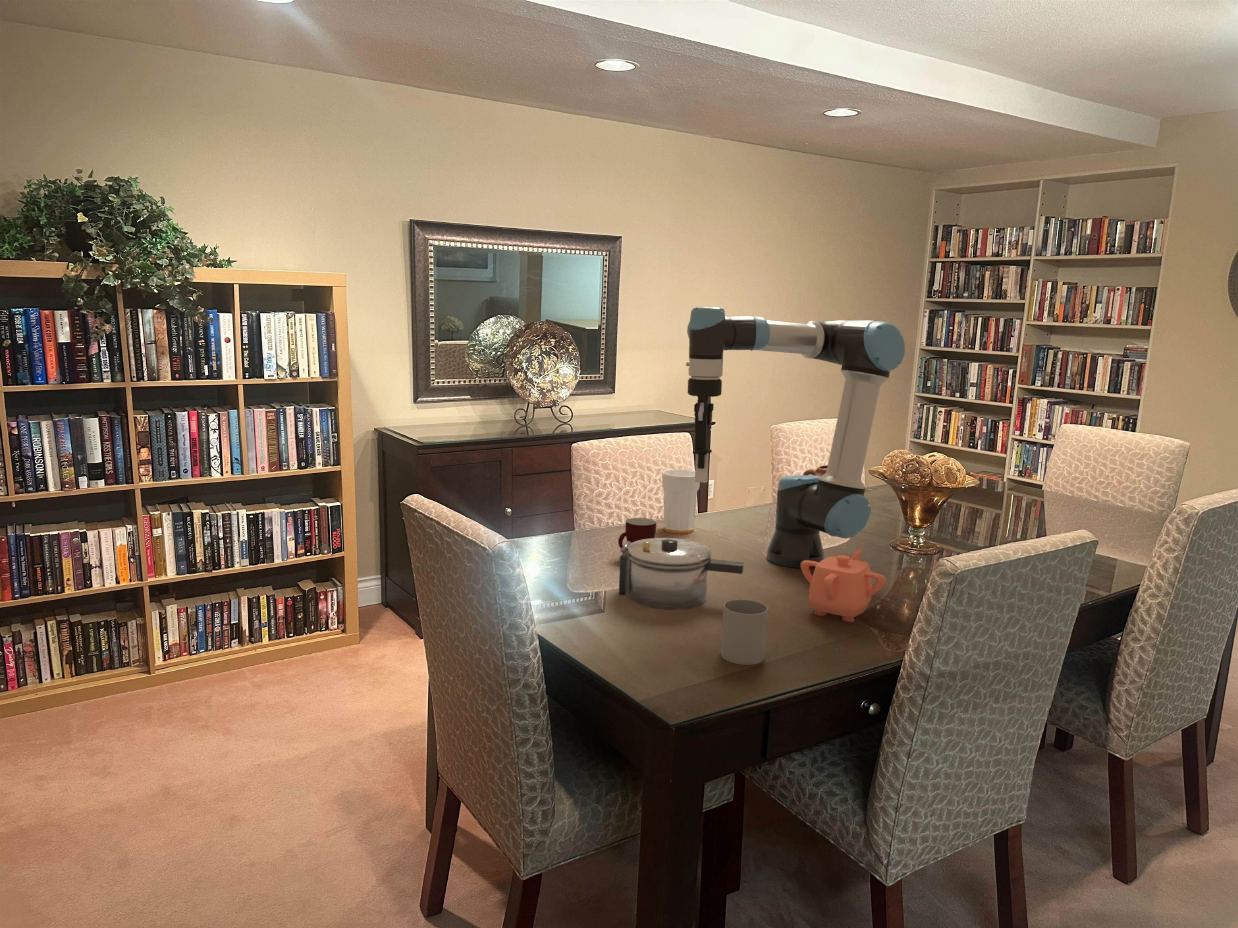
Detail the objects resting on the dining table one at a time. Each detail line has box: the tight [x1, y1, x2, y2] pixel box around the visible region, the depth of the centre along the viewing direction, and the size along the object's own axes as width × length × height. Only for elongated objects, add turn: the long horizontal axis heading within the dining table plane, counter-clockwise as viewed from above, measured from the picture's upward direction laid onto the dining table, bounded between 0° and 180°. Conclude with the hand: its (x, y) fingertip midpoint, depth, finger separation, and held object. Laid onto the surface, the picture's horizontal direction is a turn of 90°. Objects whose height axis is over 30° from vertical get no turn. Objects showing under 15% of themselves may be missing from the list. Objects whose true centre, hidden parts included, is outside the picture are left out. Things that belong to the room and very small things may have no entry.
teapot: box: [800, 548, 887, 623], centre depth 195 cm, size 17×16×13 cm
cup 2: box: [720, 598, 769, 666], centre depth 169 cm, size 8×8×10 cm
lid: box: [620, 537, 712, 566], centre depth 201 cm, size 20×19×3 cm
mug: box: [617, 517, 657, 551], centre depth 230 cm, size 10×8×10 cm
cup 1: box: [661, 468, 701, 534], centre depth 261 cm, size 11×11×17 cm
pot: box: [618, 551, 745, 611], centre depth 201 cm, size 28×19×10 cm
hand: (701, 481), depth 199 cm, fingers closed
